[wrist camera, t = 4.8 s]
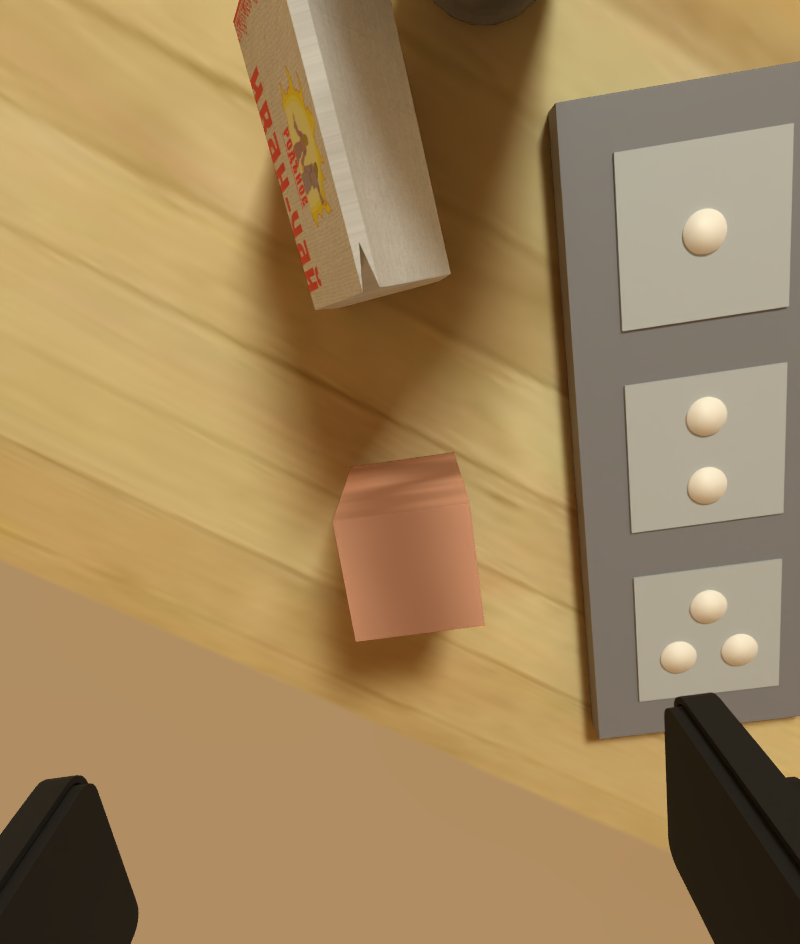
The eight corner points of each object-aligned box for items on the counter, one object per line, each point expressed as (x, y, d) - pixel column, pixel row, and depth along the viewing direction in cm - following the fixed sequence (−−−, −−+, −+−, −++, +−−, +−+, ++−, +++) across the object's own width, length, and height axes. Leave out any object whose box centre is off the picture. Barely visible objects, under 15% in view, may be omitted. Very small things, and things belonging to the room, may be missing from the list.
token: (453, 452, 23) (469, 502, 17) (466, 547, 24) (484, 625, 18) (351, 466, 23) (332, 521, 17) (367, 560, 24) (355, 641, 18)
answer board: (828, 65, 19) (854, 50, 18) (802, 698, 26) (821, 716, 25) (548, 112, 20) (556, 101, 19) (592, 723, 26) (601, 742, 25)
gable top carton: (391, 70, 19) (376, -157, 10) (439, 281, 21) (465, 264, 12) (283, 102, 20) (166, -88, 10) (339, 308, 21) (285, 312, 12)
